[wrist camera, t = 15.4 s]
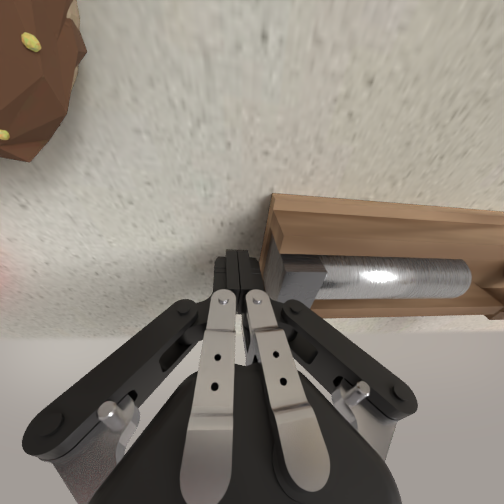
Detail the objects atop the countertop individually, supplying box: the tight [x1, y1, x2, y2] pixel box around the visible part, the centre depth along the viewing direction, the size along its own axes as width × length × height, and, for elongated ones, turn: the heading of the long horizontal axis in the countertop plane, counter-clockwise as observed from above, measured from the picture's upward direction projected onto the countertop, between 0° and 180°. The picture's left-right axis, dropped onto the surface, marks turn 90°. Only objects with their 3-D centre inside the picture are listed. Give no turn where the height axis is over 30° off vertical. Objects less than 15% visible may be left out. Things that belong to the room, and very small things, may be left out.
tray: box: [259, 193, 504, 320], centre depth 17 cm, size 9×31×4 cm, turn 83°
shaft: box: [262, 234, 472, 309], centre depth 15 cm, size 4×14×4 cm, turn 83°
